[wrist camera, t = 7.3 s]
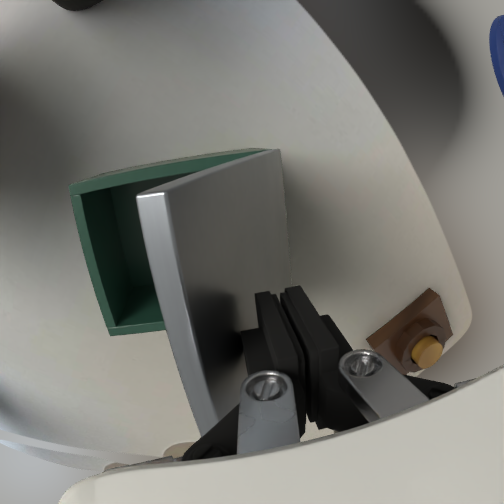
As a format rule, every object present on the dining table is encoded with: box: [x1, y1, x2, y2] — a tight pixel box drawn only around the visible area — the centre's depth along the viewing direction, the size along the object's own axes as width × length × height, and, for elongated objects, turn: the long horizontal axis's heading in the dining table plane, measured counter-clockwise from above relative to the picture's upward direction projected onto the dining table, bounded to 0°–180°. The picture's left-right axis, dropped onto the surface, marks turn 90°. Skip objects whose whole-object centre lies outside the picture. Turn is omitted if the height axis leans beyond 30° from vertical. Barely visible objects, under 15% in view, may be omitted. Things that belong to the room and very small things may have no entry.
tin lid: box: [136, 149, 292, 437], centre depth 15 cm, size 14×12×1 cm
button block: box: [366, 288, 453, 375], centre depth 35 cm, size 10×8×4 cm
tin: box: [69, 148, 272, 336], centre depth 25 cm, size 14×12×8 cm
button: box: [411, 336, 443, 369], centre depth 32 cm, size 4×4×2 cm
